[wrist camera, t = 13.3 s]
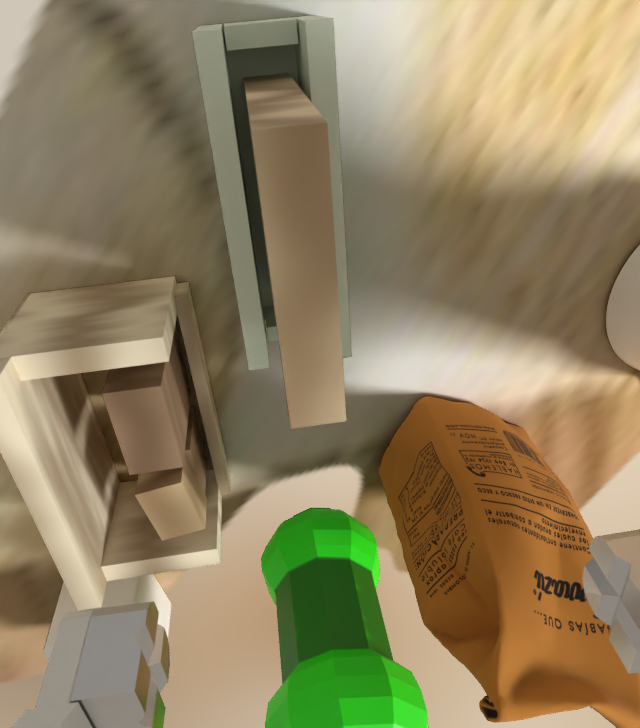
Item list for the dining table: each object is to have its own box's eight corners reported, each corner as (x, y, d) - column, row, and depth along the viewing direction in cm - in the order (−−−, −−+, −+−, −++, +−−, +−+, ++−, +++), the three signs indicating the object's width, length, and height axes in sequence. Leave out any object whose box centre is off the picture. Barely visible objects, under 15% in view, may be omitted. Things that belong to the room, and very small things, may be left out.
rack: (186, 274, 37) (173, 355, 29) (231, 481, 47) (231, 586, 38) (27, 294, 36) (-35, 382, 28) (105, 499, 46) (78, 610, 38)
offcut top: (184, 452, 38) (181, 482, 36) (207, 498, 41) (205, 528, 38) (140, 464, 38) (134, 495, 36) (166, 509, 41) (161, 540, 38)
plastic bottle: (317, 582, 55) (371, 944, 34) (232, 535, 50) (232, 923, 29) (396, 522, 52) (509, 878, 31) (313, 466, 47) (380, 842, 26)
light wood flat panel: (288, 72, 31) (327, 122, 18) (307, 279, 37) (346, 421, 25) (243, 77, 31) (251, 130, 18) (270, 284, 37) (290, 429, 25)
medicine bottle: (63, 575, 50) (20, 720, 40) (142, 554, 50) (120, 695, 40) (98, 622, 54) (68, 765, 44) (172, 603, 54) (159, 742, 44)
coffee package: (475, 508, 52) (610, 786, 34) (358, 469, 48) (439, 764, 29) (545, 426, 48) (742, 693, 30) (424, 376, 44) (566, 652, 25)
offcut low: (194, 405, 42) (190, 449, 38) (206, 458, 45) (204, 505, 41) (149, 411, 42) (140, 456, 38) (165, 464, 45) (158, 512, 41)
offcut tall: (173, 318, 39) (160, 386, 32) (190, 392, 42) (183, 467, 35) (124, 324, 38) (101, 393, 32) (146, 398, 42) (129, 474, 35)
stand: (314, 14, 30) (333, 18, 25) (334, 305, 40) (351, 356, 34) (199, 25, 30) (191, 31, 24) (246, 316, 39) (248, 370, 33)
